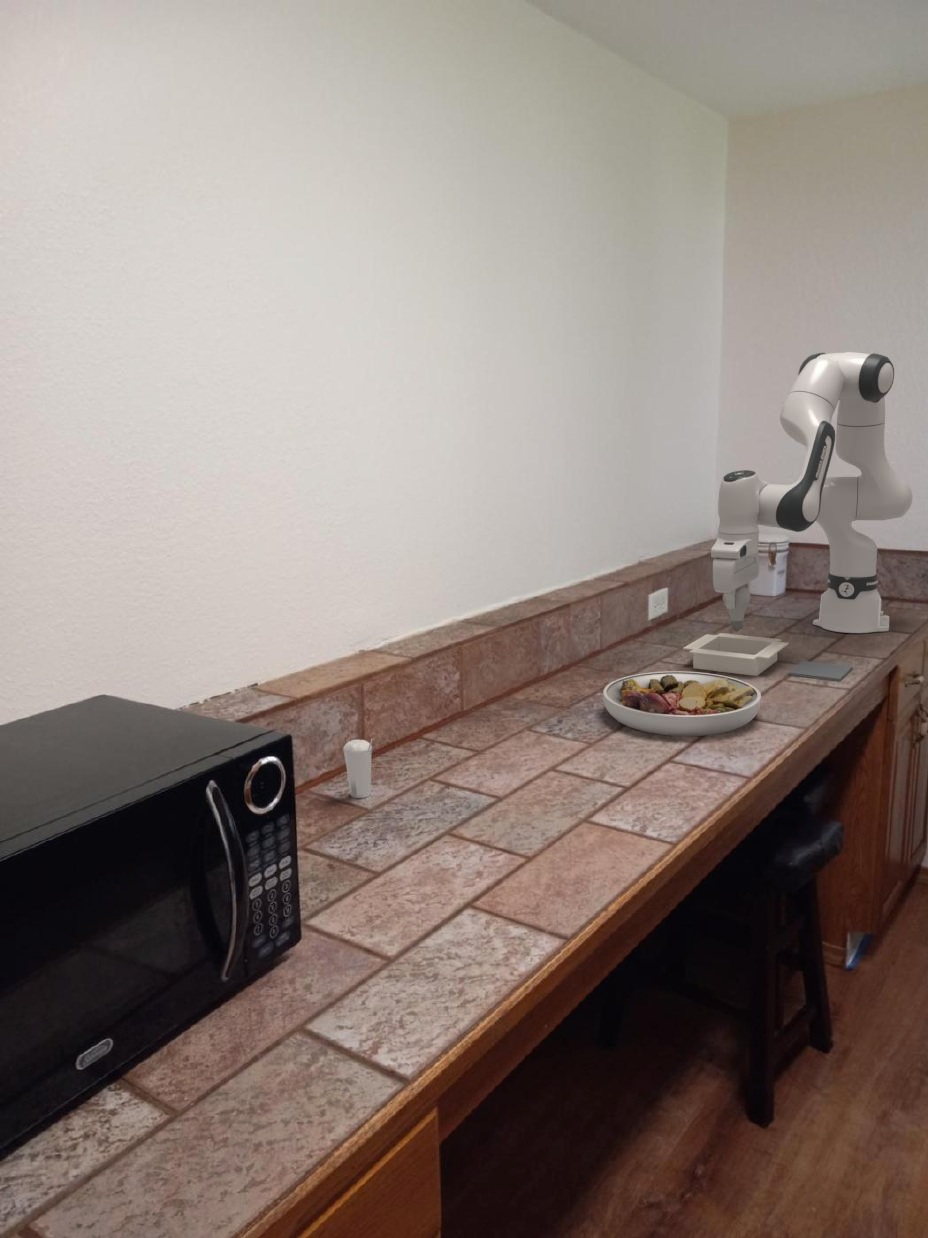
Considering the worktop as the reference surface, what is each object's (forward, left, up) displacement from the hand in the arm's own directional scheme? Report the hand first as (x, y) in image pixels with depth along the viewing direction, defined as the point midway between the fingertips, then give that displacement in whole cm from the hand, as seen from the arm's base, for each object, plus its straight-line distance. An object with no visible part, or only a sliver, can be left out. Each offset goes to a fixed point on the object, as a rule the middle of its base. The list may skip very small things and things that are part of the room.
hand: (736, 604), depth 225 cm
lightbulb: (0, 0, -6) cm, 6 cm away
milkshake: (+102, -26, -14) cm, 107 cm away
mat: (-2, +19, -14) cm, 23 cm away
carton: (0, 0, -14) cm, 14 cm away
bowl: (+40, +3, -15) cm, 43 cm away
